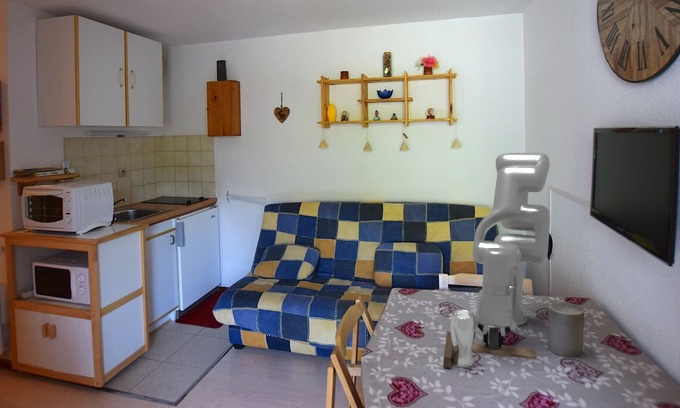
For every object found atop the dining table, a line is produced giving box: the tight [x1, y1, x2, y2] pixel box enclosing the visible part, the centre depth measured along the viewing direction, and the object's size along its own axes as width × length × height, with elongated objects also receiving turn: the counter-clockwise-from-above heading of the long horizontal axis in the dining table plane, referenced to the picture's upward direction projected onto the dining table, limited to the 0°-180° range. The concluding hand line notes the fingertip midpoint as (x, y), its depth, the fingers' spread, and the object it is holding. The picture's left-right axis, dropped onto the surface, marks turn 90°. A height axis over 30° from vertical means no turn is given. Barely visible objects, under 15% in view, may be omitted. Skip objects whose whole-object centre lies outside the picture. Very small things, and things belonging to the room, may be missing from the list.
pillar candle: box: [547, 301, 585, 358], centre depth 134 cm, size 10×10×15 cm
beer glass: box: [450, 309, 477, 369], centre depth 127 cm, size 7×7×15 cm
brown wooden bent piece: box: [443, 326, 537, 369], centre depth 129 cm, size 26×18×7 cm
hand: (493, 345), depth 135 cm, fingers open, 3 cm apart
